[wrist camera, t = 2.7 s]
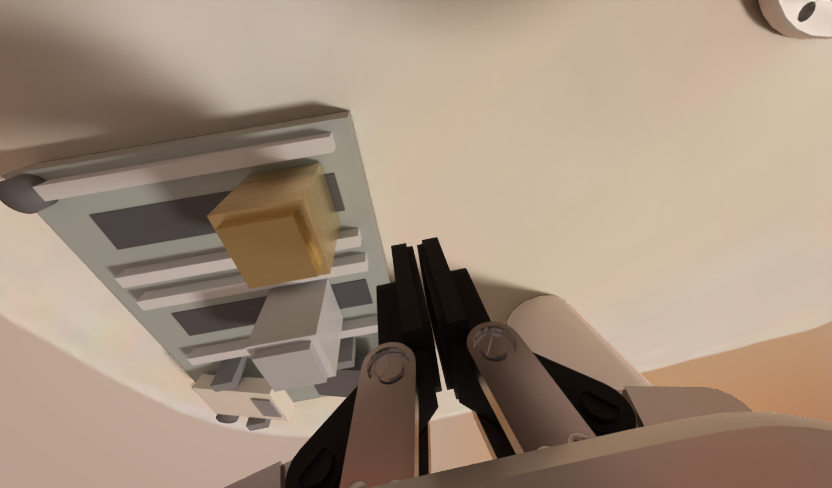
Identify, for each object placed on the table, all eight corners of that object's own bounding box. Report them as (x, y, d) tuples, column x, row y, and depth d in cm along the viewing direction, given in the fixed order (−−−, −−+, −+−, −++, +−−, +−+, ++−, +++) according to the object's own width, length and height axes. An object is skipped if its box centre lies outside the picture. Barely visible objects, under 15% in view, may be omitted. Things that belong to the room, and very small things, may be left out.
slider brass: (320, 161, 17) (299, 205, 12) (340, 223, 19) (328, 281, 14) (249, 174, 17) (199, 223, 12) (277, 235, 19) (244, 296, 14)
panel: (350, 110, 18) (342, 128, 14) (410, 362, 31) (415, 407, 27) (38, 162, 17) (-59, 195, 13) (234, 394, 31) (213, 444, 27)
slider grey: (327, 278, 21) (313, 343, 17) (343, 317, 23) (334, 385, 19) (271, 288, 21) (241, 356, 16) (291, 326, 23) (270, 396, 19)
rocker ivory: (276, 377, 24) (266, 393, 22) (296, 408, 26) (289, 424, 25) (200, 371, 25) (188, 387, 24) (227, 401, 27) (217, 417, 26)
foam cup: (579, 340, 32) (682, 491, 21) (492, 358, 32) (552, 518, 21) (592, 272, 27) (739, 425, 16) (489, 293, 27) (565, 460, 16)
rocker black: (390, 356, 24) (386, 371, 23) (400, 389, 26) (396, 404, 25) (309, 352, 25) (301, 366, 24) (325, 383, 28) (319, 398, 27)
